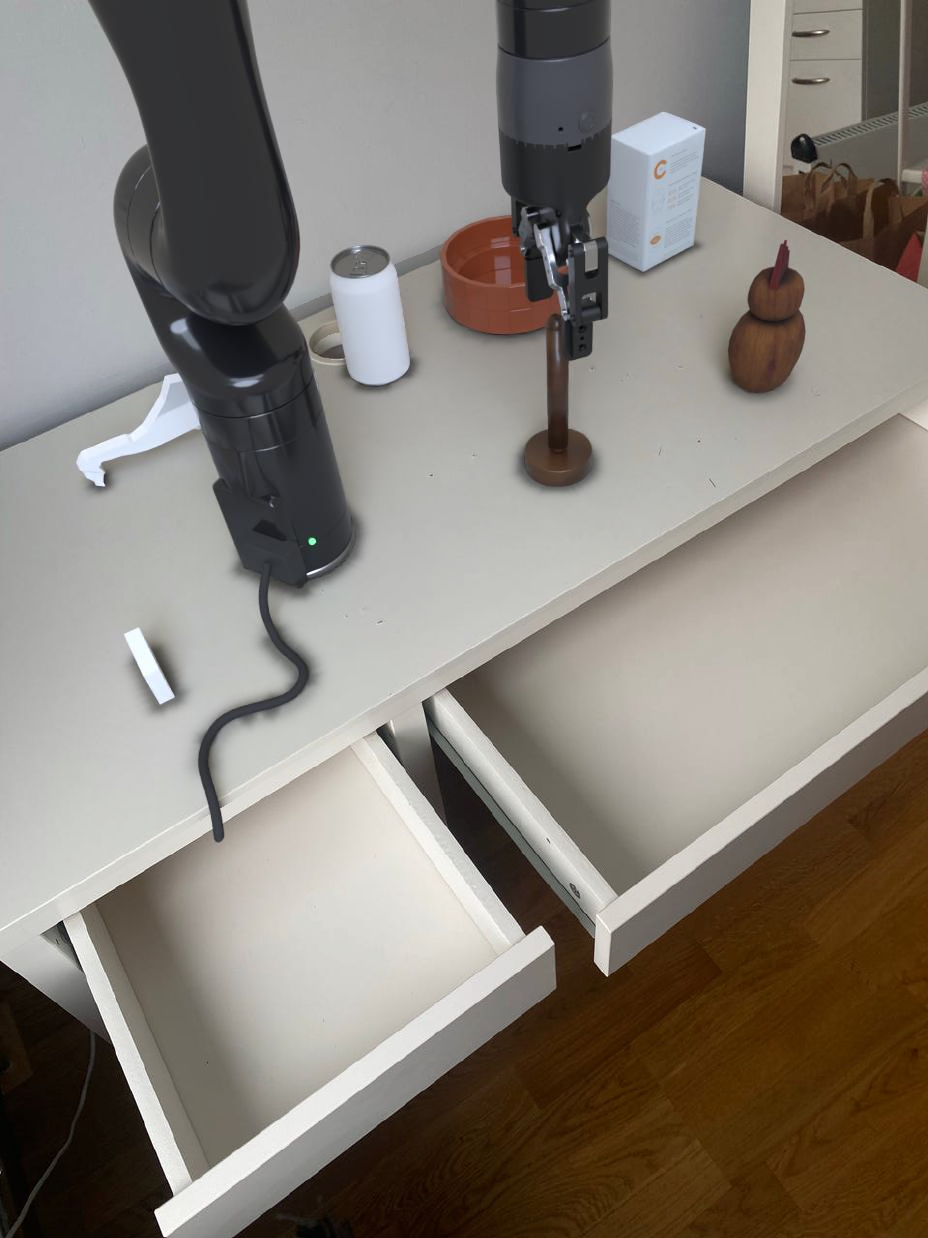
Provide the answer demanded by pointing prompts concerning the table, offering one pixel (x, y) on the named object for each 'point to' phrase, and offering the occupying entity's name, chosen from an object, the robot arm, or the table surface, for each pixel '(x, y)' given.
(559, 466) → the brown post on disc
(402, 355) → the can
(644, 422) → the table surface
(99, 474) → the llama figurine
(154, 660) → the eraser
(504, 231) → the bowl
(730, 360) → the wooden figurine
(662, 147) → the small box
